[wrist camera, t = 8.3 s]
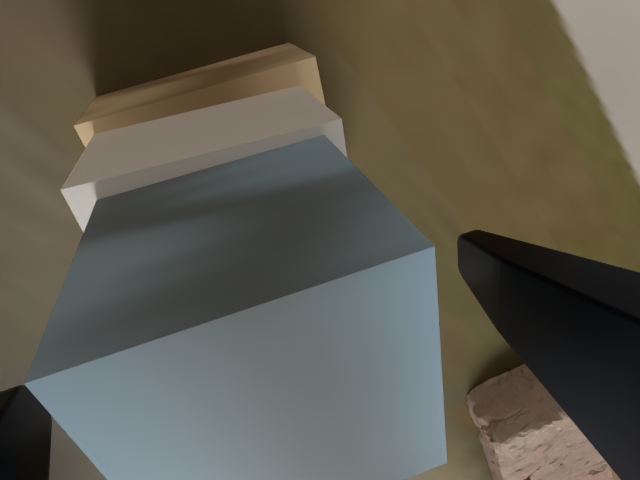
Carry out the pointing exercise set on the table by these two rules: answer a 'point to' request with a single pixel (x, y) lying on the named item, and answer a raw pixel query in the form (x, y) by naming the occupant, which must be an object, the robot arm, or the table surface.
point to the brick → (530, 432)
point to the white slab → (195, 144)
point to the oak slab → (203, 89)
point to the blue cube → (250, 328)
